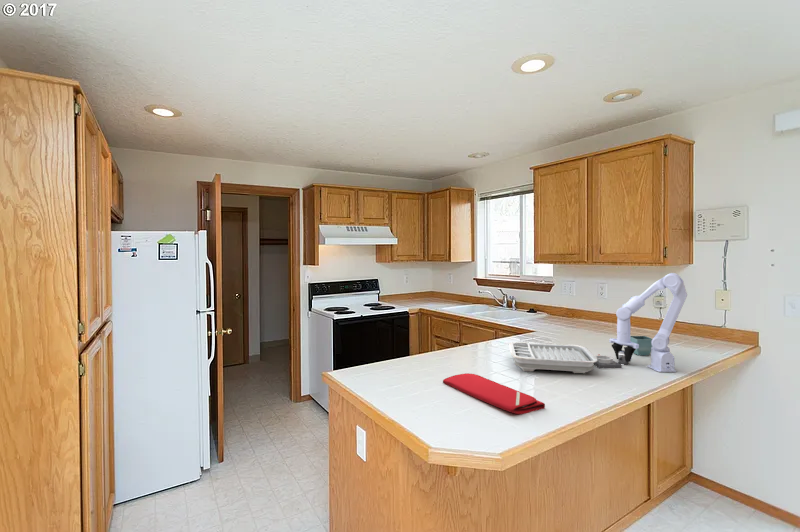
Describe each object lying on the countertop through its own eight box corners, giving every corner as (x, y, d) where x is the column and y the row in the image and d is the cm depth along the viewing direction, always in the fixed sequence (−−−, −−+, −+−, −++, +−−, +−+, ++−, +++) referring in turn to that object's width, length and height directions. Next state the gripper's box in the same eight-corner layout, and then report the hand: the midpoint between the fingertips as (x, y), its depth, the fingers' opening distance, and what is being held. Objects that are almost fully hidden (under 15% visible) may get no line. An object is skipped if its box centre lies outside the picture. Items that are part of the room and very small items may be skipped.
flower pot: (654, 356, 211) (654, 339, 211) (636, 356, 211) (637, 339, 211) (644, 352, 220) (644, 335, 219) (627, 352, 220) (627, 335, 220)
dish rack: (600, 378, 177) (601, 360, 177) (511, 374, 184) (511, 356, 184) (584, 359, 208) (584, 343, 207) (508, 356, 215) (508, 341, 215)
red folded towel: (472, 378, 180) (472, 369, 180) (546, 409, 144) (546, 398, 144) (442, 384, 173) (442, 375, 173) (512, 418, 137) (512, 407, 137)
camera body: (621, 368, 191) (621, 360, 190) (599, 368, 191) (599, 360, 191) (606, 360, 205) (606, 353, 204) (586, 360, 205) (586, 353, 205)
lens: (630, 365, 196) (631, 352, 196) (621, 365, 196) (621, 352, 196) (625, 362, 201) (625, 349, 201) (616, 362, 201) (616, 350, 201)
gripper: (643, 334, 193) (643, 363, 193) (616, 328, 206) (616, 356, 207) (632, 335, 190) (632, 364, 191) (606, 330, 204) (606, 357, 204)
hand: (623, 360), depth 198 cm, fingers closed on lens, 4 cm apart
